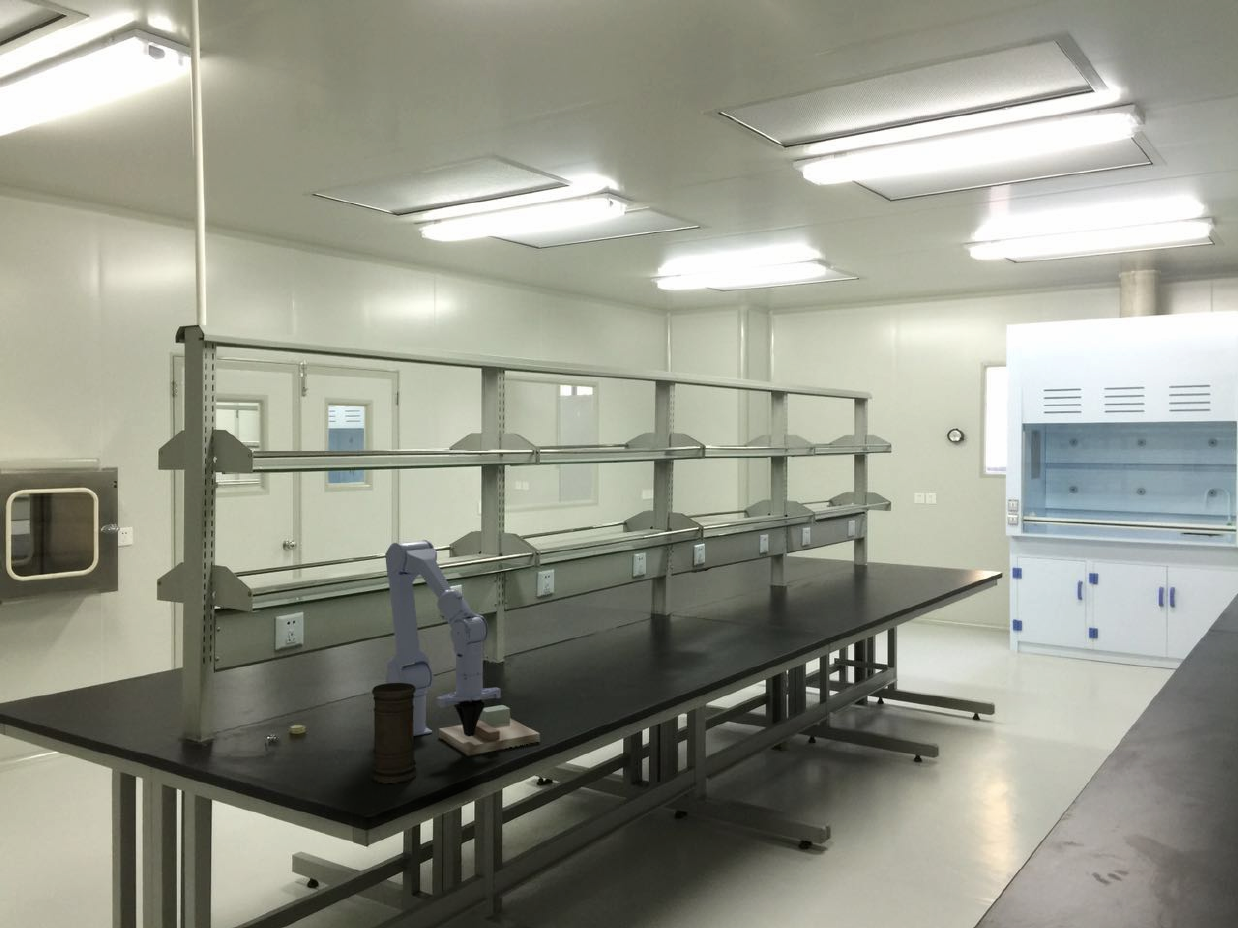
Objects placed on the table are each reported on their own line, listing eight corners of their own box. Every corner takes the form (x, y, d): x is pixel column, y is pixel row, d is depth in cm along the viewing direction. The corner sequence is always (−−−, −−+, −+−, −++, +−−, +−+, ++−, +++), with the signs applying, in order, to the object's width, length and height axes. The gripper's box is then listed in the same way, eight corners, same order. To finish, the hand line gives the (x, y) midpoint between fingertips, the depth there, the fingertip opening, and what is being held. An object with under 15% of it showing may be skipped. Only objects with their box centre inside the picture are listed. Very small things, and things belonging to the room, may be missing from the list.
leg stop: (486, 725, 227) (486, 712, 227) (479, 722, 230) (479, 708, 230) (509, 721, 231) (509, 708, 231) (502, 718, 234) (502, 704, 234)
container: (388, 787, 193) (388, 695, 192) (362, 776, 199) (362, 687, 198) (426, 775, 199) (426, 686, 199) (399, 765, 205) (399, 679, 205)
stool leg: (465, 728, 224) (465, 719, 224) (476, 726, 226) (476, 717, 226) (488, 741, 214) (488, 732, 214) (500, 739, 216) (500, 730, 216)
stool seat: (468, 755, 212) (468, 746, 212) (438, 737, 225) (438, 728, 225) (539, 742, 222) (539, 733, 222) (507, 725, 235) (508, 717, 235)
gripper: (447, 680, 208) (447, 745, 208) (507, 671, 216) (507, 733, 217) (432, 674, 214) (432, 737, 214) (491, 665, 222) (491, 726, 222)
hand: (469, 734), depth 216 cm, fingers closed
